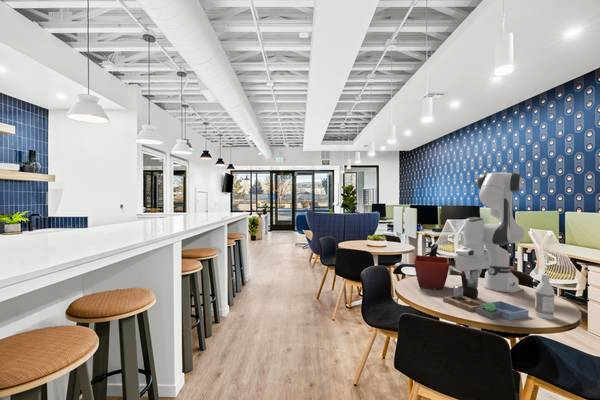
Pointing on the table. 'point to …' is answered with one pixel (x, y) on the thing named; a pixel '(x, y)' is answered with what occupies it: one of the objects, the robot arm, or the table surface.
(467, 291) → the cola bottle
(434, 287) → the plant pot
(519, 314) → the tote
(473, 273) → the billet
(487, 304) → the button
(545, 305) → the bath foam
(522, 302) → the table surface
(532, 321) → the table surface
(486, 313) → the grey square frame
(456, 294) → the billet
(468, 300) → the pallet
